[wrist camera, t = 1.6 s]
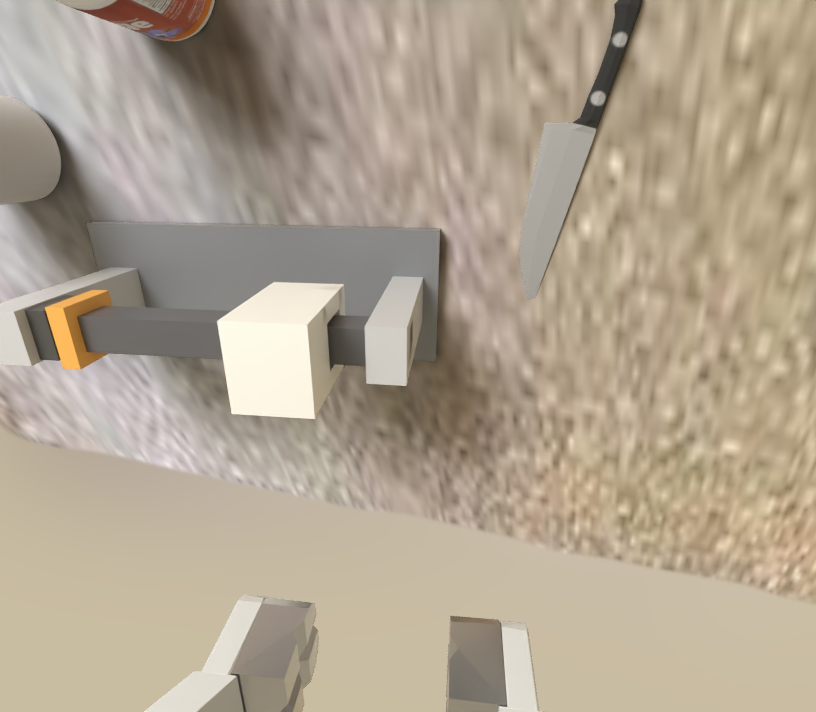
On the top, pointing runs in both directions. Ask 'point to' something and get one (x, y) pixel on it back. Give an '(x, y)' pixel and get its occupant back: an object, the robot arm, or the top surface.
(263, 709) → the robot arm
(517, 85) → the top surface
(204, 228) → the grey slider rail base
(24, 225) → the top surface
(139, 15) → the pill bottle
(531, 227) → the chef's knife
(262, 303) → the cream sliding block
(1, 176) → the beverage can
